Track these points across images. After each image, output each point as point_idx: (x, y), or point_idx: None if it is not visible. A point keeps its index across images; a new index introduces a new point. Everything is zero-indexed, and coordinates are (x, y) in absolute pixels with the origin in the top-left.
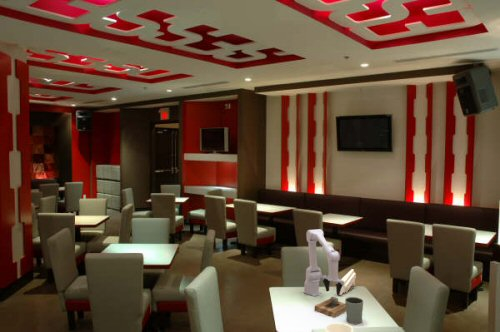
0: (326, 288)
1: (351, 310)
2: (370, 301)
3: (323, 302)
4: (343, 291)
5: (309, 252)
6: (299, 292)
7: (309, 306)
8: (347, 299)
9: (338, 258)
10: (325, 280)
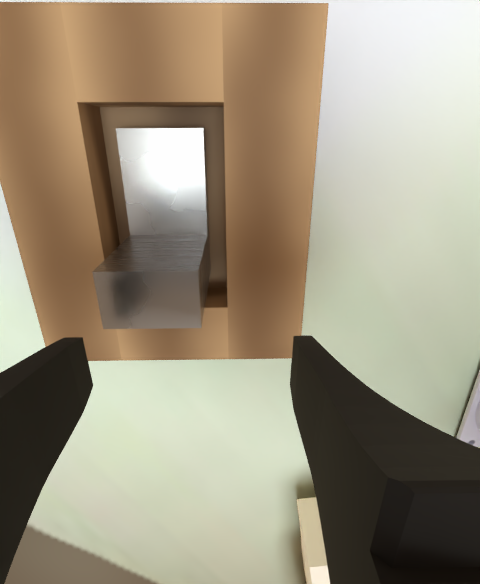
0: (314, 361)
1: None
2: (86, 537)
3: (292, 214)
4: (302, 543)
5: None
6: None
7: (427, 95)
8: None
9: None
10: (448, 565)
